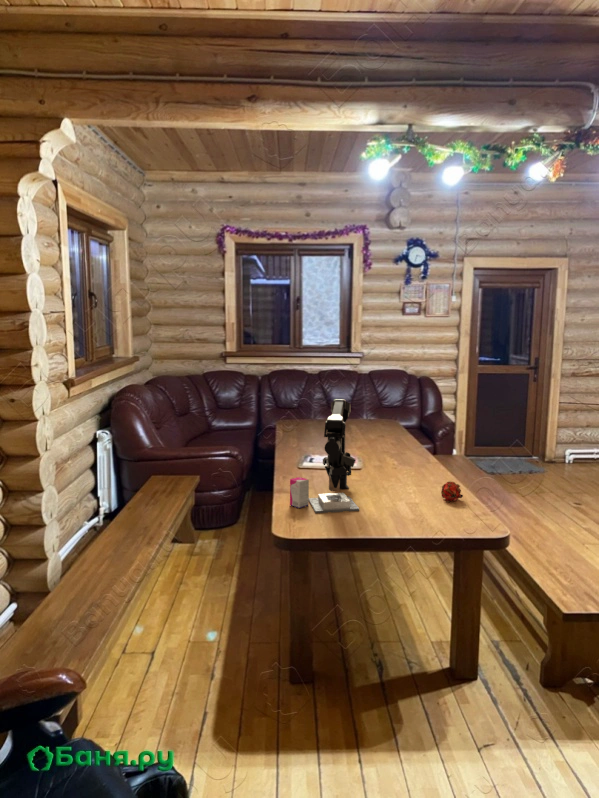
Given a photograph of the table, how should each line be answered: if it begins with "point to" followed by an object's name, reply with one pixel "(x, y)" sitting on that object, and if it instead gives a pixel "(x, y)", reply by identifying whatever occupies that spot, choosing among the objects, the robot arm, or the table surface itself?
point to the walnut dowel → (333, 486)
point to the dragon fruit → (451, 491)
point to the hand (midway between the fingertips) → (334, 486)
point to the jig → (333, 503)
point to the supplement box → (299, 492)
